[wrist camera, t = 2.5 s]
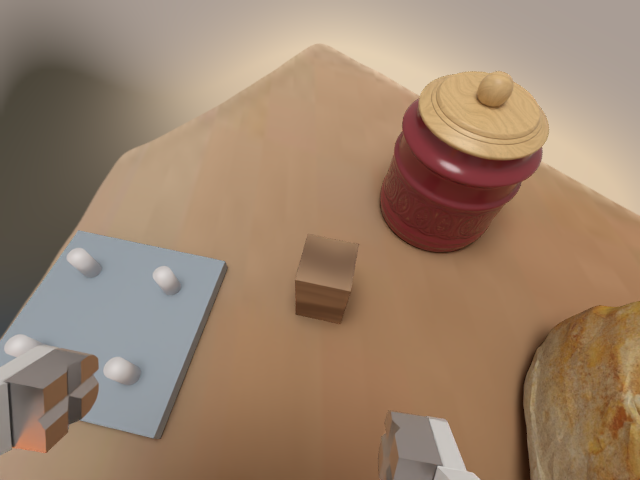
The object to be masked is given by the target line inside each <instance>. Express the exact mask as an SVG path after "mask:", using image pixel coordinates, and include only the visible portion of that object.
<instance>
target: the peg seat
mask: <svg viewBox="0 0 640 480" xmlns="http://www.w3.org/2000/svg"><path fill="white" fill-rule="evenodd" d="M226 271H227V265H226V263H225V261H221V260H216V259H212V258H207V257H202V256H197V255H193V254H188V253H183V252H178V251H174V250H169V249H164V248H159V247H155V246H150V245H145V244H140V243H136V242H131V241H126V240H121V239H117V238H112V237H107V236H102V235H98V234H93V233H88V232H83V231H79V230H78V232H77V233H76V235H75V236H74V237H73V239H72V240H71V242H70V243H69V245H68V246H67V247H66V249H65V250H64V252H63V253H62V254H61V256H60V257H59V259H58V260H57V262H56V263H55V264H54V266H53V267H52V269H51V270H50V271H49V273H48V274H47V276H46V277H45V279H44V280H43V281H42V283H41V284H40V286H39V287H38V288H37V290H36V291H35V293H34V294H33V296H32V297H31V298H30V300H29V301H28V303H27V304H26V305H25V307H24V308H23V310H22V311H21V313H20V314H19V315H18V317H17V318H16V320H15V321H14V322H13V324H12V325H11V327H10V328H9V330H8V331H7V332H6V334H5V335H4V337H3V338H2V339H1V341H0V367H1V366H3V365H5V364H7V363H8V362H10V361H12V360H13V359H15V358H17V357H19V356H20V355H22V354H24V353H26V352H27V351H29V350H31V349H33V348H34V347H36V346H38V345H49V346H54V347H58V348H64V349H69V350H74V351H78V352H83V353H88V354H93V355H95V356H96V357H97V358H98V363H99V369H98V370H97V371H96V373H95V374H94V376H95V378H96V380H97V381H98V383H99V392H98V395H97V399H96V401H95V403H94V405H93V406H92V408H91V410H90V411H89V412H88V413H87V414H86V415H85V416H84V417H83V418H82V419H81V421H85V422H89V423H93V424H97V425H101V426H105V427H109V428H114V429H118V430H122V431H126V432H130V433H134V434H138V435H142V436H146V437H150V438H155V439H160V438H161V436H162V433H163V430H164V428H165V425H166V423H167V420H168V418H169V415H170V413H171V410H172V408H173V405H174V403H175V400H176V398H177V395H178V392H179V390H180V387H181V385H182V382H183V380H184V377H185V375H186V372H187V370H188V367H189V365H190V362H191V359H192V357H193V354H194V352H195V349H196V347H197V344H198V342H199V339H200V337H201V334H202V332H203V329H204V327H205V324H206V321H207V319H208V316H209V314H210V311H211V309H212V306H213V304H214V301H215V299H216V296H217V294H218V291H219V288H220V286H221V283H222V281H223V278H224V276H225V273H226Z"/></svg>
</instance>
